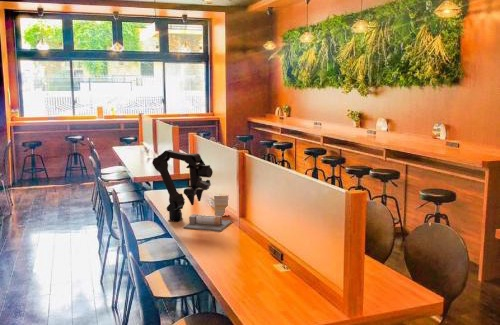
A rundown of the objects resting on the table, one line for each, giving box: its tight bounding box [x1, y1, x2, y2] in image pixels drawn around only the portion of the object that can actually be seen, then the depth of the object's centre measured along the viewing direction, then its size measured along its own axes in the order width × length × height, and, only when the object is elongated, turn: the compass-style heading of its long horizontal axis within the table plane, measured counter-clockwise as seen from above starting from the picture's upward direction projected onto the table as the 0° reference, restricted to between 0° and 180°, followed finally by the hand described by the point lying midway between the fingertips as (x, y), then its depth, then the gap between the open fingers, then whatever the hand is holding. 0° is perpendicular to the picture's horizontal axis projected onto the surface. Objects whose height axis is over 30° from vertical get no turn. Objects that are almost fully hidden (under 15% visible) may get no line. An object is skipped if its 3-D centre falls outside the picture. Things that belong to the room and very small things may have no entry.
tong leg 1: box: [196, 216, 220, 225], centre depth 277 cm, size 14×1×4 cm, turn 72°
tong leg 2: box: [197, 214, 223, 224], centre depth 280 cm, size 14×1×4 cm, turn 71°
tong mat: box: [183, 213, 233, 233], centre depth 279 cm, size 22×19×5 cm
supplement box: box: [213, 193, 229, 216], centre depth 297 cm, size 8×5×13 cm, turn 84°
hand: (196, 203), depth 281 cm, fingers open, 9 cm apart
